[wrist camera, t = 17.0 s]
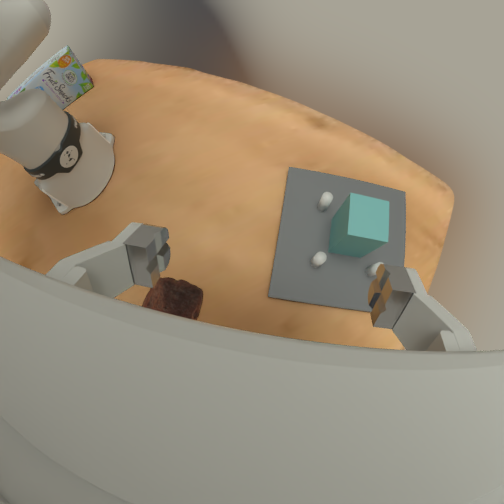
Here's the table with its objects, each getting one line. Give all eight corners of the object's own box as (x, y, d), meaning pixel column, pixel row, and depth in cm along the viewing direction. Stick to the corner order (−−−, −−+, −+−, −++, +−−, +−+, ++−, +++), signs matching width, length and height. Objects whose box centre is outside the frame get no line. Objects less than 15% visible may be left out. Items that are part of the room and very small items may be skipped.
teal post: (328, 252, 38) (347, 234, 28) (331, 219, 39) (350, 192, 29) (360, 257, 37) (388, 242, 28) (362, 225, 38) (389, 201, 29)
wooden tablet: (154, 266, 40) (210, 292, 37) (160, 269, 42) (215, 293, 39) (106, 406, 36) (152, 439, 33) (113, 403, 38) (159, 434, 35)
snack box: (92, 78, 52) (67, 43, 37) (94, 87, 51) (68, 50, 36) (35, 124, 51) (6, 97, 36) (35, 135, 50) (3, 108, 35)
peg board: (268, 296, 39) (268, 295, 33) (288, 171, 42) (290, 153, 37) (394, 314, 37) (411, 315, 32) (401, 195, 41) (415, 182, 35)
